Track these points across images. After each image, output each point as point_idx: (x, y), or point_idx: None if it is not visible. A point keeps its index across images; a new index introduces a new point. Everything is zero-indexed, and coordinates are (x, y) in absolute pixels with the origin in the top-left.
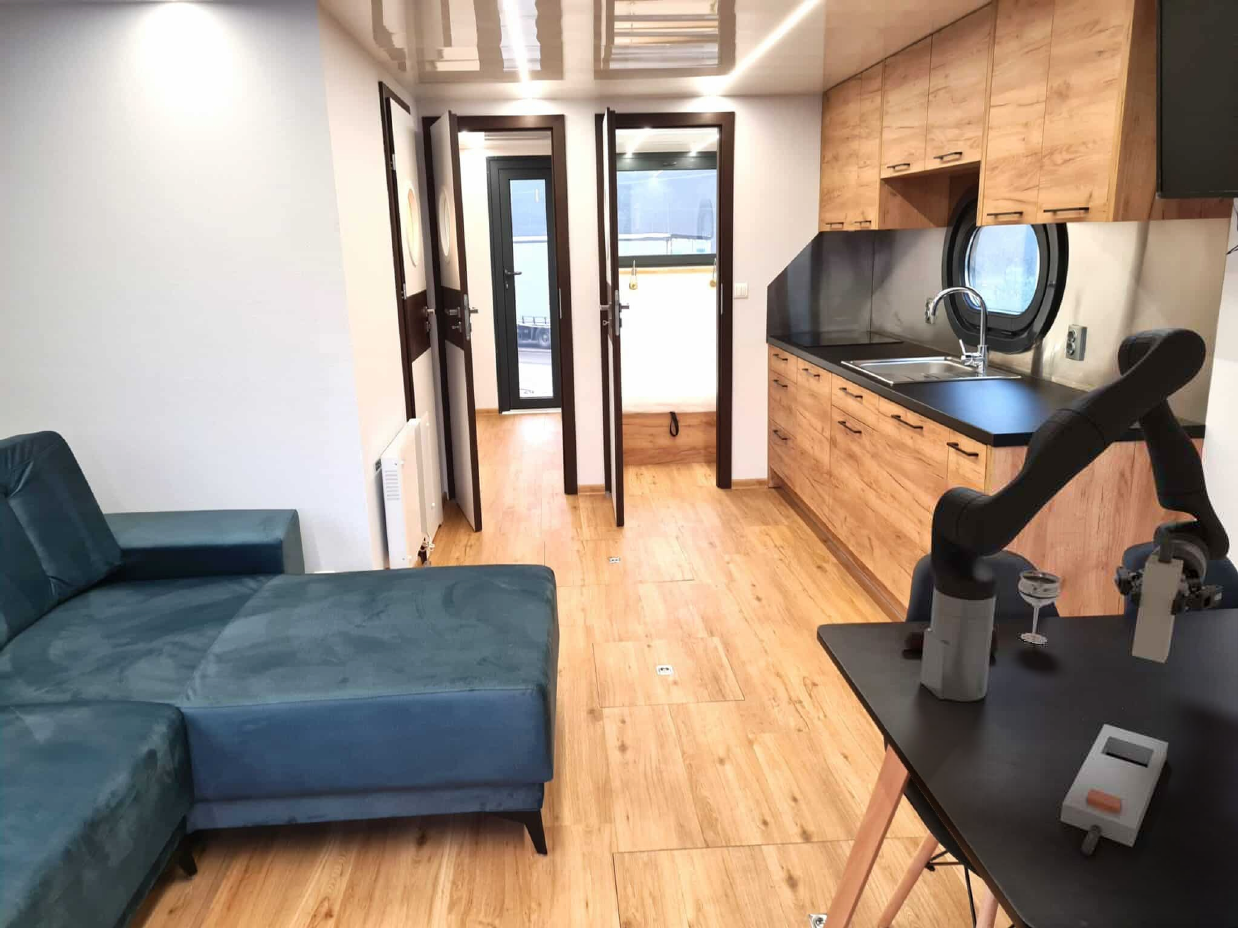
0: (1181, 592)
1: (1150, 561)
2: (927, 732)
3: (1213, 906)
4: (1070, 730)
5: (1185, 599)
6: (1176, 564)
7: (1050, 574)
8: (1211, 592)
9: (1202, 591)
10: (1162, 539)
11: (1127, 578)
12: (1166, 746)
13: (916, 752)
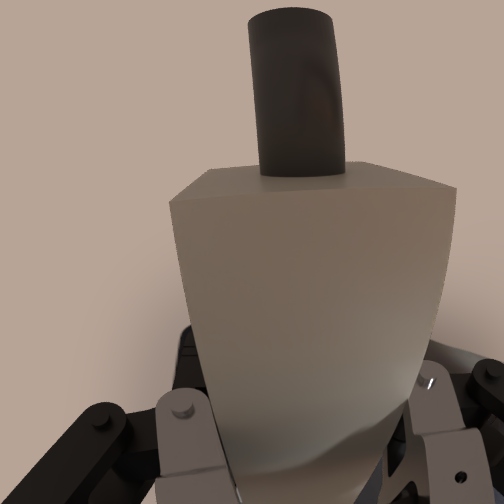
0: (200, 393)
1: (358, 165)
2: (451, 367)
3: (188, 332)
4: (372, 490)
5: (183, 372)
6: (225, 175)
7: None
8: (40, 459)
9: (82, 455)
10: (328, 19)
11: (487, 366)
12: (237, 490)
13: (429, 343)
